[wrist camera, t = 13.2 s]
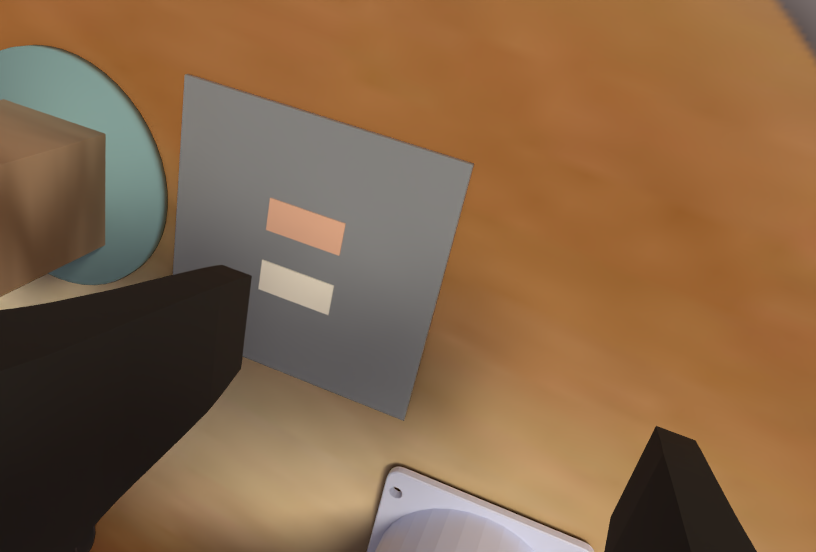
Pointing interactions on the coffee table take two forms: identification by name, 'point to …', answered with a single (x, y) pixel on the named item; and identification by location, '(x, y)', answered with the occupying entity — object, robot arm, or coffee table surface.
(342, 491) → the coffee table surface
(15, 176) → the walnut block
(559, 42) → the coffee table surface
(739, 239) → the coffee table surface
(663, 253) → the coffee table surface
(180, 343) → the robot arm
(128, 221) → the coaster
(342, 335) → the grey square plate
